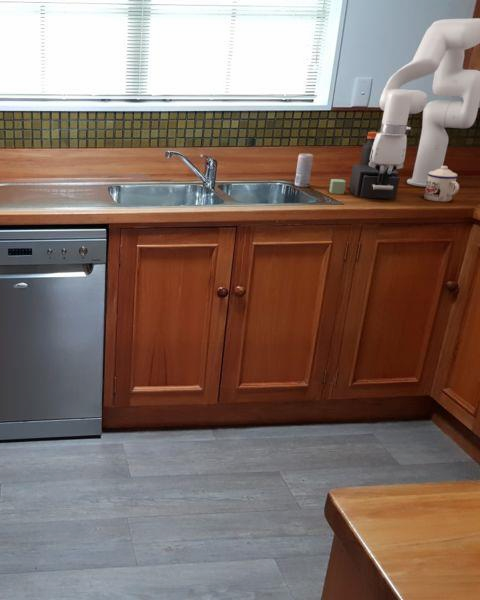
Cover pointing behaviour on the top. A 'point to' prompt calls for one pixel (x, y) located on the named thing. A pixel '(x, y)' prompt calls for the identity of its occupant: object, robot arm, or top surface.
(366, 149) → the bottle
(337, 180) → the block
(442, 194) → the teacup with lid
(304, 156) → the energy drink
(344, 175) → the top surface
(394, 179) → the black drawer unit
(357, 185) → the dark drawer box
